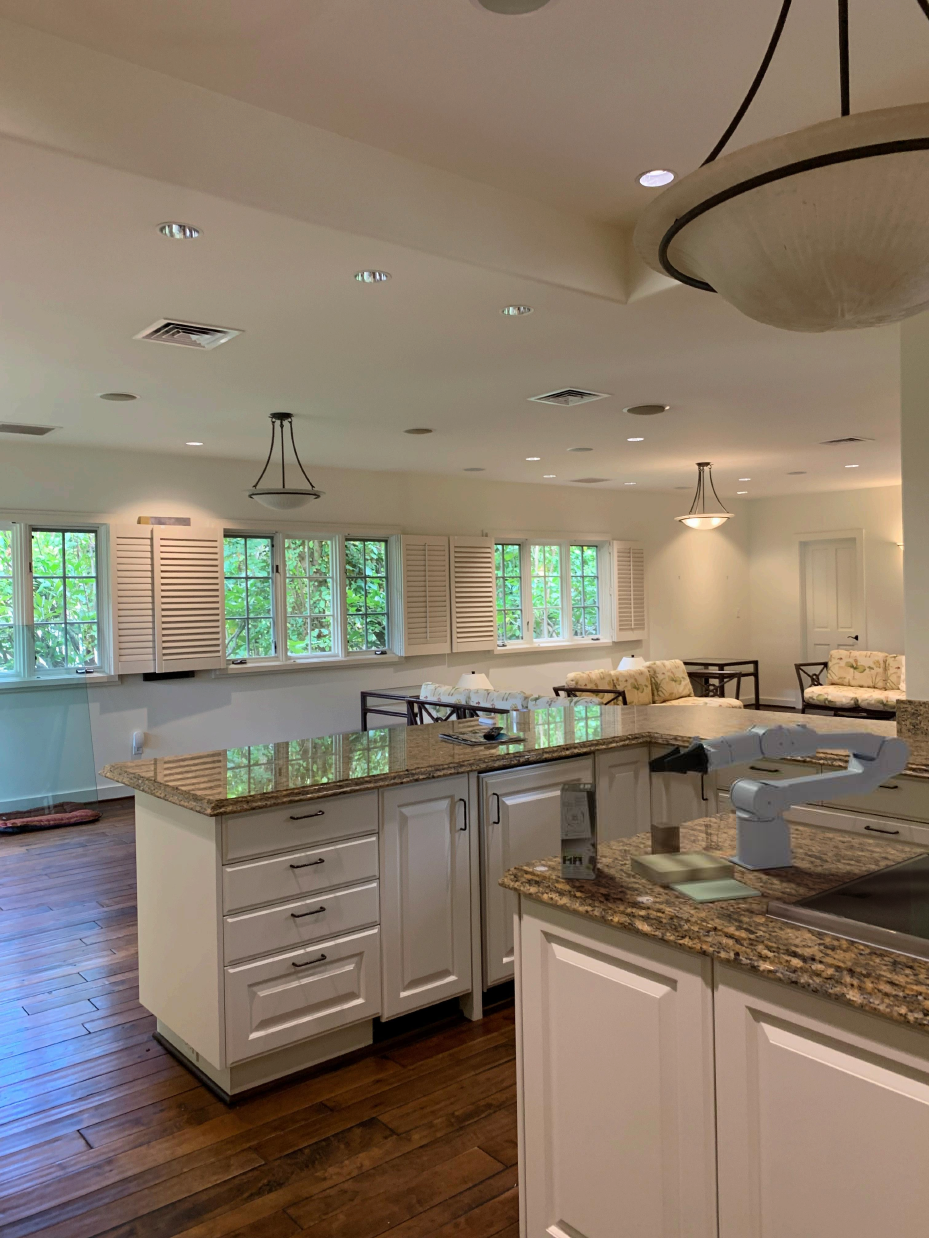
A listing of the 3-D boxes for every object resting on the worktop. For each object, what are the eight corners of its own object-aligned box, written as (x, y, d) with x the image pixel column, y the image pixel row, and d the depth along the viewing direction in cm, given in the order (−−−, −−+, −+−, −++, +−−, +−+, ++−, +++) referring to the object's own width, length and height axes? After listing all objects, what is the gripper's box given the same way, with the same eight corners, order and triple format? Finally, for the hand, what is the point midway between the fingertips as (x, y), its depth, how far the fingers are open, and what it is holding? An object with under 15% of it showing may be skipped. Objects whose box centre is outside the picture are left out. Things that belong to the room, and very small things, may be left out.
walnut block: (669, 857, 174) (669, 821, 174) (680, 862, 170) (679, 826, 170) (651, 859, 173) (650, 823, 173) (661, 864, 169) (660, 827, 169)
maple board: (701, 862, 169) (701, 849, 169) (734, 878, 159) (734, 864, 159) (631, 870, 165) (630, 856, 165) (660, 886, 155) (659, 872, 155)
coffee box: (596, 880, 159) (594, 790, 160) (560, 878, 161) (559, 790, 161) (598, 866, 168) (597, 782, 168) (564, 865, 170) (563, 781, 170)
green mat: (728, 879, 158) (728, 877, 158) (761, 895, 149) (761, 892, 149) (669, 886, 155) (669, 883, 155) (698, 902, 145) (698, 899, 145)
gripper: (701, 732, 175) (638, 746, 172) (736, 728, 161) (668, 743, 158) (710, 768, 174) (646, 782, 171) (746, 767, 160) (677, 783, 157)
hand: (657, 766), depth 164 cm, fingers open, 7 cm apart
